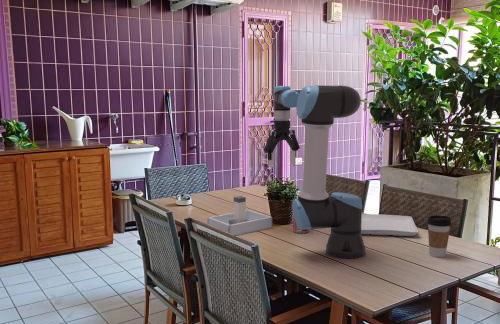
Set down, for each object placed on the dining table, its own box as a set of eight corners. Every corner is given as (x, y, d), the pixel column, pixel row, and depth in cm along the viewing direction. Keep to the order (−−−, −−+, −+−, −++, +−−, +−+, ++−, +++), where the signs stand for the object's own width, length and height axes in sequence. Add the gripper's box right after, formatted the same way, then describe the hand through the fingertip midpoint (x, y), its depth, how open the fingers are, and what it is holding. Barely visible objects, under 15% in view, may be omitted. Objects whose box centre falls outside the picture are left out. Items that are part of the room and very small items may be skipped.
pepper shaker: (245, 226, 226) (245, 197, 224) (238, 228, 223) (238, 198, 221) (240, 225, 229) (240, 195, 227) (233, 226, 226) (233, 197, 224)
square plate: (353, 220, 239) (353, 213, 239) (411, 223, 234) (411, 215, 233) (353, 236, 213) (353, 227, 212) (419, 239, 207) (419, 231, 207)
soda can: (308, 234, 215) (308, 205, 213) (292, 233, 217) (292, 204, 215) (309, 229, 222) (309, 202, 220) (293, 229, 224) (294, 201, 222)
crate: (272, 227, 226) (272, 217, 225) (229, 236, 212) (229, 225, 211) (249, 219, 240) (248, 209, 240) (207, 228, 226) (207, 217, 225)
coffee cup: (447, 260, 181) (449, 220, 179) (423, 256, 186) (425, 217, 183) (451, 253, 188) (453, 215, 186) (428, 250, 193) (430, 213, 190)
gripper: (296, 118, 234) (296, 162, 237) (256, 120, 219) (256, 167, 222) (307, 119, 228) (307, 164, 231) (266, 121, 213) (266, 169, 216)
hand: (282, 165), depth 226 cm, fingers open, 13 cm apart
